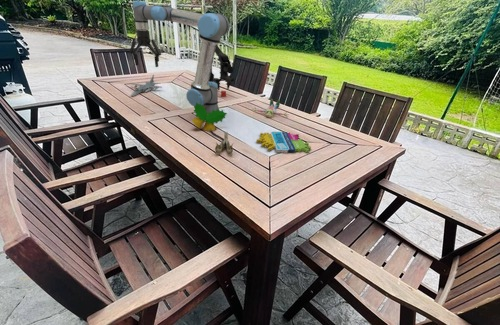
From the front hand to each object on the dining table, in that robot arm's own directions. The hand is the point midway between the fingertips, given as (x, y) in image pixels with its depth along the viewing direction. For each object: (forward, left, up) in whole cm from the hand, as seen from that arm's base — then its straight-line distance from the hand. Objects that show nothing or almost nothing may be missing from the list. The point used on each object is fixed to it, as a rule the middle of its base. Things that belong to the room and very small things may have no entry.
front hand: (147, 66), depth 173 cm
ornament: (-39, -36, -30) cm, 61 cm away
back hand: (+35, -58, -25) cm, 72 cm away
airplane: (+55, +8, -30) cm, 63 cm away
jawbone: (-71, -39, -30) cm, 87 cm away
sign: (-66, -74, -30) cm, 104 cm away
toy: (-11, -87, -30) cm, 93 cm away
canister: (+34, -58, -30) cm, 74 cm away
